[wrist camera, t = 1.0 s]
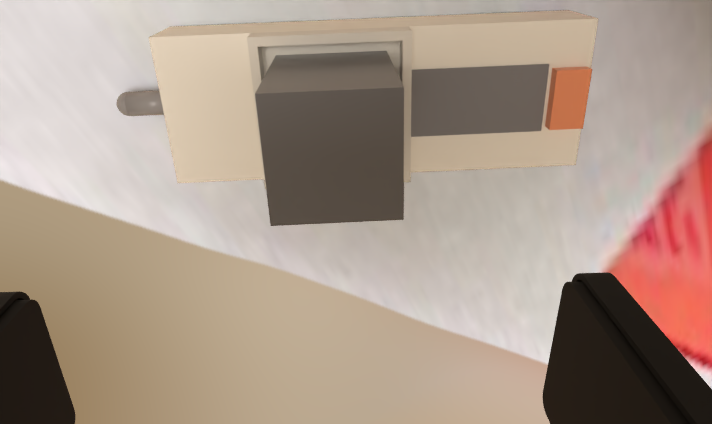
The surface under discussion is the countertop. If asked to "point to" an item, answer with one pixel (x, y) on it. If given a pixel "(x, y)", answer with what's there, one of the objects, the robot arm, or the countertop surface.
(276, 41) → the power strip
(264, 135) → the block
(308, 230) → the countertop surface
